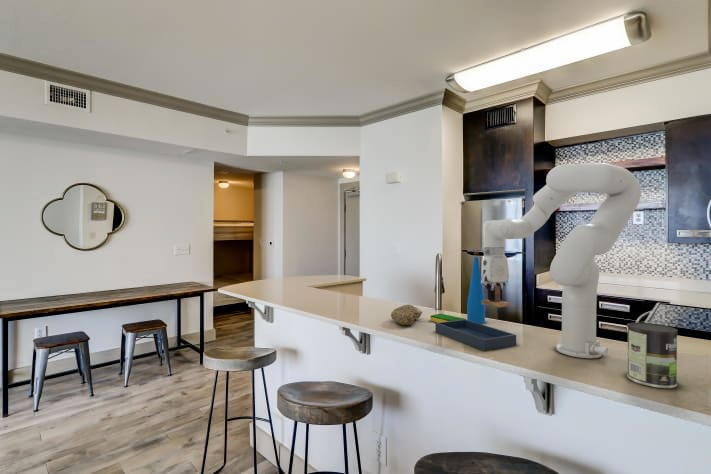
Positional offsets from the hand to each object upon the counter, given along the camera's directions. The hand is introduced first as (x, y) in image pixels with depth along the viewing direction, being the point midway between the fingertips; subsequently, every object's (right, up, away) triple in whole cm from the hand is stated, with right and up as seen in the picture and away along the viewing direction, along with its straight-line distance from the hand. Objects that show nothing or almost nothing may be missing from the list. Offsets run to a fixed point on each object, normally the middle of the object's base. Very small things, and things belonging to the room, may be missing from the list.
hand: (495, 299), depth 144 cm
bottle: (-2, -13, +18) cm, 22 cm away
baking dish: (-11, -13, -7) cm, 18 cm away
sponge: (-32, -13, +17) cm, 38 cm away
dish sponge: (-14, -13, +16) cm, 25 cm away
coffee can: (+23, -13, -47) cm, 54 cm away
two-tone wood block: (0, -2, 0) cm, 2 cm away
